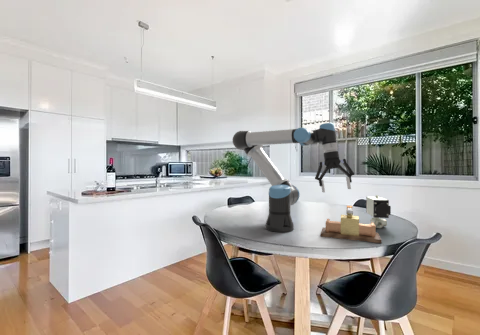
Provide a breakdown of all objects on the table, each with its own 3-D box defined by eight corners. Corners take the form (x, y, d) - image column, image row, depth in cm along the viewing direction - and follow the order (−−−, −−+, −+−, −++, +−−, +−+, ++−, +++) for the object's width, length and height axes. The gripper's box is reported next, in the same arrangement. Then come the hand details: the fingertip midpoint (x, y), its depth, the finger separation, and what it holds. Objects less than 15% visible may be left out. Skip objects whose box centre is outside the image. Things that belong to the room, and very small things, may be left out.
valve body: (325, 233, 121) (325, 214, 121) (326, 229, 129) (326, 211, 128) (375, 239, 112) (376, 218, 112) (374, 234, 120) (374, 215, 120)
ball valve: (392, 231, 129) (393, 197, 128) (375, 230, 130) (375, 197, 130) (380, 223, 146) (380, 193, 146) (365, 222, 148) (365, 193, 148)
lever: (353, 215, 118) (353, 210, 118) (346, 214, 120) (346, 210, 119) (352, 209, 131) (352, 205, 131) (346, 209, 132) (346, 205, 132)
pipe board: (320, 236, 120) (320, 233, 120) (322, 230, 131) (322, 227, 131) (381, 243, 110) (381, 239, 110) (378, 235, 121) (378, 232, 121)
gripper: (308, 154, 130) (314, 193, 129) (356, 147, 129) (363, 187, 127) (306, 155, 138) (311, 193, 137) (351, 149, 136) (357, 187, 135)
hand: (336, 190), depth 132 cm, fingers open, 13 cm apart
